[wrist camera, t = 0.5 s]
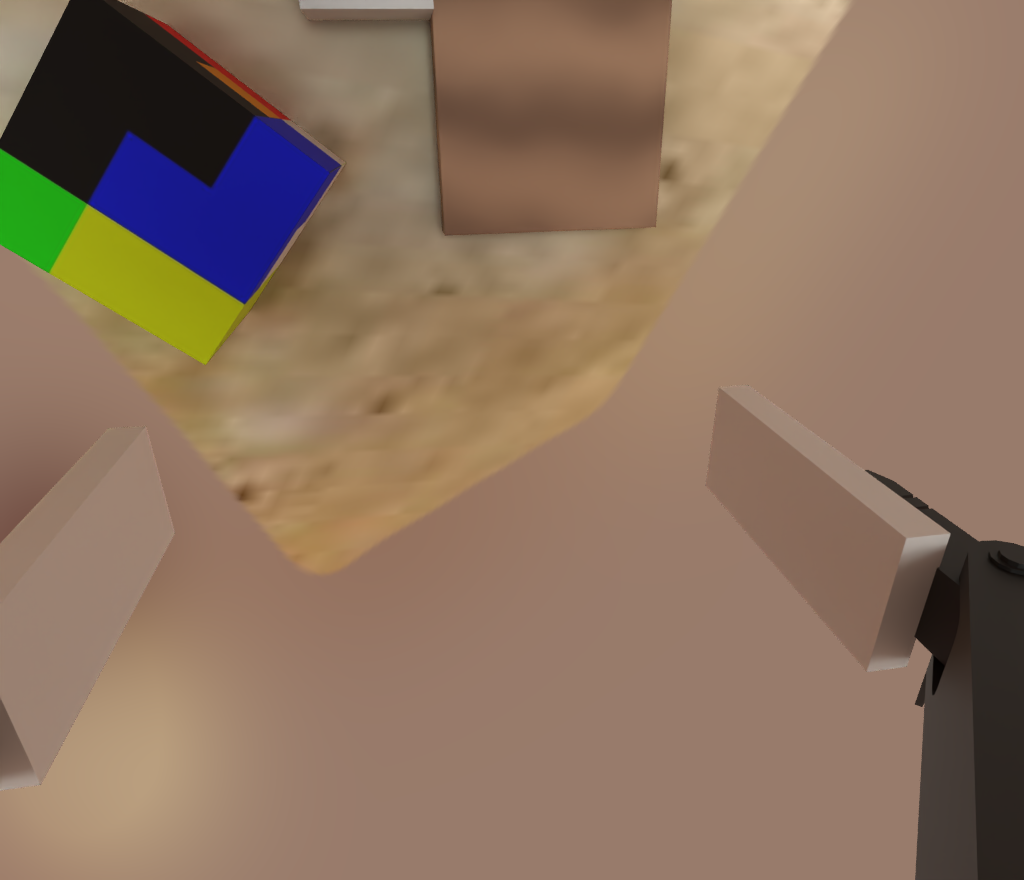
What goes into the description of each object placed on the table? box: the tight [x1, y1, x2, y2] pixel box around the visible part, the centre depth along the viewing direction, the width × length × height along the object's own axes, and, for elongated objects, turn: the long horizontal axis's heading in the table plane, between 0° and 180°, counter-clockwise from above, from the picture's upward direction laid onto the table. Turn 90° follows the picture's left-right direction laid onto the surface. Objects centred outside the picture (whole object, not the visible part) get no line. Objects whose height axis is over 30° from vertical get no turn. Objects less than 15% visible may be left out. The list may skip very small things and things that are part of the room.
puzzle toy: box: [0, 0, 346, 365], centre depth 31 cm, size 10×10×10 cm
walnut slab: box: [430, 0, 672, 235], centre depth 35 cm, size 12×12×2 cm
